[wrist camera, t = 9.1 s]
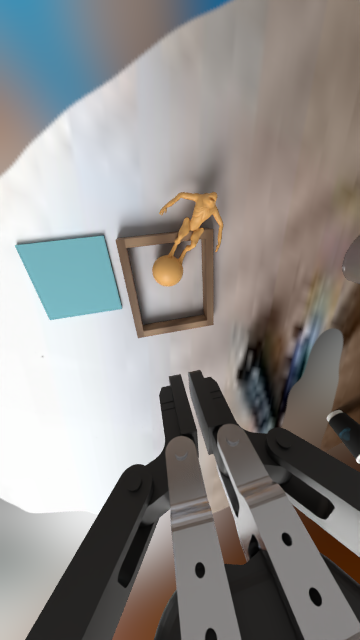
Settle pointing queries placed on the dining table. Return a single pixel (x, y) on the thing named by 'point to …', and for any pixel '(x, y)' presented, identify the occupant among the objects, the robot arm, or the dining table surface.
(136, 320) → the brown wooden frame
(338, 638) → the robot arm
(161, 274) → the figurine
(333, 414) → the dixie cup
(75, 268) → the teal pad
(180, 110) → the dining table surface
